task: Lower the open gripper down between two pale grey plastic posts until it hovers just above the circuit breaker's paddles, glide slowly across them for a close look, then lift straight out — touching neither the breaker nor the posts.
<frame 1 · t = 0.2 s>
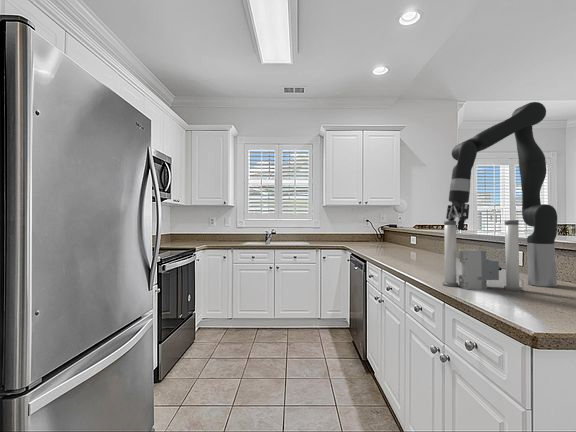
hand: (455, 229, 143), 23 cm above the worktop, tool pointing down, fingers open, 8 cm apart
circuit breaker: (480, 288, 140), on the worktop
post 2: (512, 289, 135), on the worktop
post 1: (450, 285, 145), on the worktop
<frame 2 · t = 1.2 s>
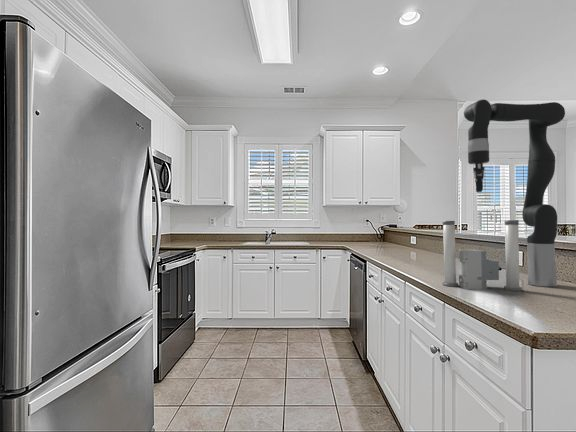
hand: (479, 191, 141), 39 cm above the worktop, tool pointing down, fingers open, 8 cm apart
nothing on the worktop moved.
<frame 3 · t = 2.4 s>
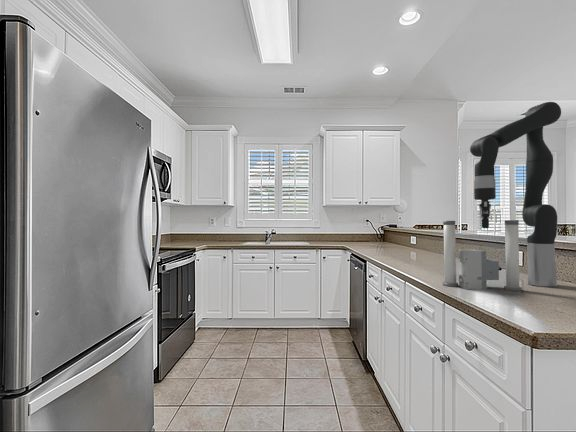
hand: (485, 228, 140), 24 cm above the worktop, tool pointing down, fingers open, 8 cm apart
nothing on the worktop moved.
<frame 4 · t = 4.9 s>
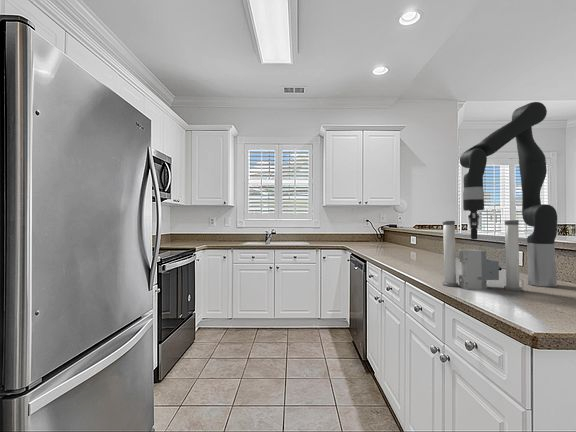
hand: (474, 238, 141), 20 cm above the worktop, tool pointing down, fingers open, 8 cm apart
nothing on the worktop moved.
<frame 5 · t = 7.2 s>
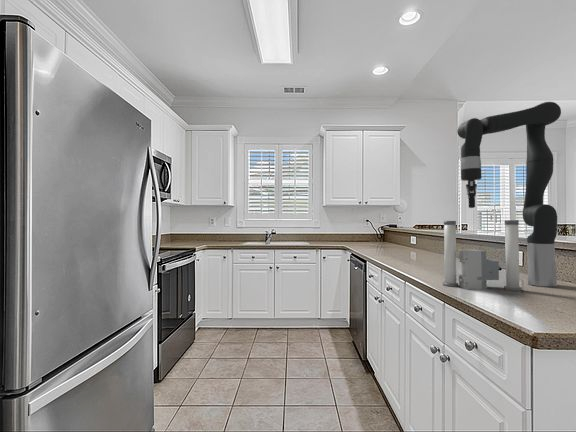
hand: (471, 207, 144), 32 cm above the worktop, tool pointing down, fingers open, 8 cm apart
nothing on the worktop moved.
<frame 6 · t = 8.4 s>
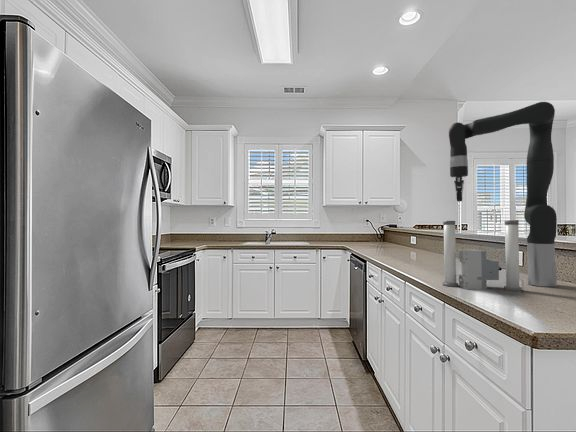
hand: (459, 201, 163), 36 cm above the worktop, tool pointing down, fingers open, 8 cm apart
nothing on the worktop moved.
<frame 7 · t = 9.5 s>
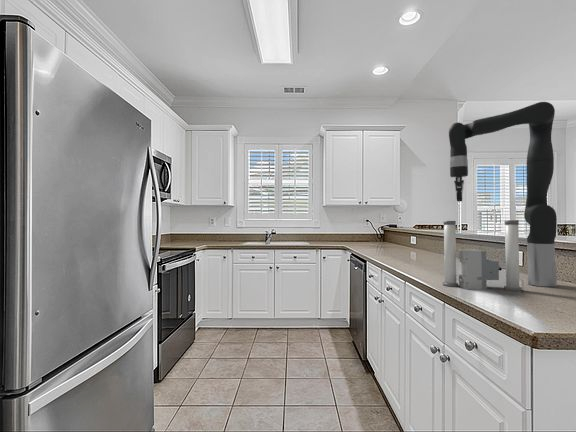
hand: (459, 201, 163), 36 cm above the worktop, tool pointing down, fingers open, 8 cm apart
nothing on the worktop moved.
at the end: circuit breaker moved 0.2 cm from its start; post 2 tilted 0°; post 1 tilted 1° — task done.
